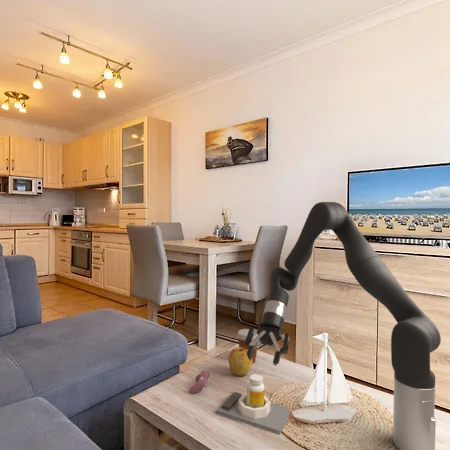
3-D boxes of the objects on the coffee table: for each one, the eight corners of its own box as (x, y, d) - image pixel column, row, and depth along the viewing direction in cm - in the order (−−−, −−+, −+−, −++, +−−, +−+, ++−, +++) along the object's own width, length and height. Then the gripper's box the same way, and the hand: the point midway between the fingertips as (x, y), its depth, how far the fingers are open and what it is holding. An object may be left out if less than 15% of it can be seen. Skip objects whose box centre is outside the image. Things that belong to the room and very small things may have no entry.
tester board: (291, 411, 98) (292, 400, 98) (279, 434, 88) (280, 421, 88) (233, 394, 107) (233, 384, 107) (215, 413, 97) (216, 401, 97)
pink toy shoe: (198, 400, 106) (208, 382, 106) (187, 392, 107) (196, 375, 106) (205, 385, 116) (214, 369, 115) (194, 378, 117) (203, 362, 116)
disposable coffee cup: (258, 367, 128) (259, 337, 128) (235, 365, 130) (235, 335, 130) (259, 357, 138) (260, 329, 138) (237, 355, 139) (238, 327, 139)
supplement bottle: (242, 405, 99) (244, 374, 98) (257, 401, 101) (258, 371, 101) (252, 415, 94) (253, 383, 94) (267, 410, 96) (268, 379, 96)
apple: (252, 369, 126) (253, 344, 126) (251, 380, 117) (251, 353, 117) (229, 367, 127) (230, 342, 127) (226, 378, 118) (227, 351, 118)
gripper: (252, 308, 113) (238, 351, 103) (291, 314, 107) (281, 361, 97) (257, 319, 118) (244, 362, 108) (295, 325, 112) (285, 371, 102)
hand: (261, 361), depth 103 cm, fingers open, 8 cm apart
